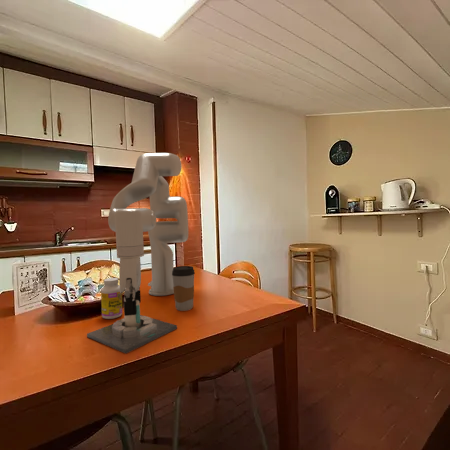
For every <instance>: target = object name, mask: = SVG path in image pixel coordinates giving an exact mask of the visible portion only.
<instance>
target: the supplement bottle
mask: <svg viewBox="0 0 450 450" xmlns="http://www.w3.org/2000/svg"><path fill="white" fill-rule="evenodd" d="M103 284H104V286H103V287H102V288H101V289H100V296H101V297H100V301H101V302H100V303H101V317H102V319H106V320H113V319H116V318H117V319H118V318H119V317H121V316H122V315H123V293H120V288H119V278H118V277H108V278H104V279H103Z"/></svg>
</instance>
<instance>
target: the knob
mask: <svg viewBox="0 0 450 450" xmlns="http://www.w3.org/2000/svg"><path fill="white" fill-rule="evenodd" d="M140 304H141V302H140V303H139V301H138V300H136V310H137V313H136V315H128V316H125V315H124V314H123V315H124V316H123V318H125V327H135V326H138V329H139V328H141V320H140V315H141V308H140Z"/></svg>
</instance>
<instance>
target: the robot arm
mask: <svg viewBox="0 0 450 450" xmlns="http://www.w3.org/2000/svg"><path fill="white" fill-rule="evenodd" d="M133 171H134V172H133V174H132V179H131V183H129V184H127V185H126V186H125V187H123V188H122V189H121V190H120V191H119V192H118V193H117V194H116V195H115V196H114V197H113V198H112V202H111V205H110V208H109V212H108V217H107V219H108V220H107V221H108V223H107V224H108V226H109V229H110V230H111V231H112V232H115V242H116V243H115V244H116V258H117V259H119V267H118V268H119V272H118V273H119V274H118V276H119V278H118V281H119V282H118V285H119V288H120V293H122V294H123V293H124V296H123V312H124V313H123V315H125V316H128V315H136V313H137V310H136V300H138V301H139V303H140V304H141V301H142V299H141V297H142V296H141V288H140V287H141V284H142V283H141V282H142V271H141V270H142V269H141V268H142V267H141V266H142V265H141V257H144V256H145V246H144V233H146V232H147V234H148V239H149V245H150V255H151V256H150V257H151V281H150V282H148V284H147V286H148V287H150V289H148V294H149V295H151V296H154V297H155V296H156V297H157V296H158V297H162V296H163V297H165V296H170V295H174V288H173V276H172V271H173V268H174V253H173V249H172V248H171V246H170V245H169V244H170V243H171V244H173V243H176V244H177V243H185V242H186V241H188V240H189V217H188V204H187V201H186V199H185V198H184V197H183V196H179V195H178V196H170V185H169V183H168V181H167V180H166V179H165V178H164V177H178V176H179V175H180V173H181V171H182V162H181V158H180V156H178V155H177V154H174V153H171V152H152V153H151V152H147V153H142V154H140V155H139V156H138V158H137V160H136V163H135V166H134V170H133ZM147 198H149V206H150V207H149V208H148V207H147V208H146V207H141V208H140V207H138V208H137V207H136V208H134V207H133V208H132V207H129V206H130V205H132V204H135V203H137V202H139V201H142V200H145V199H147ZM128 207H129V208H128ZM157 219H175V220H173V221H172V220H169V221H168V220H166V221H164V220H163V221H161V220H160V221H157Z"/></svg>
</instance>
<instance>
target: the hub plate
mask: <svg viewBox="0 0 450 450" xmlns="http://www.w3.org/2000/svg"><path fill="white" fill-rule="evenodd" d="M140 320H141V328H139V329H138V326H135V327H125V317H123V318H120V319H118V320H116V321H115V322H113V324H112V323H111V324H110V325H107V326H106V325H105V326H104V327H102V328H99V329H97V330H94V331H90V332H88V333H86V337H87V338H88V339H91V340H93V341H96V342H98V343H100V344H102V345H105V346H106V347H109V348H112V349H115V350H116V351H119V352H121V353H124V354H128V353H130V352H132V351H134V350H136V349H138V348H139V349H140V347H143V346H145V345H147V344H149V343H150V342H152V341H154V340H157V339H159V338H161V337H164V336H165V335H167V334H169V333H171V332H173V331H175V330H177V329H178V325H176V324H174V323H170V322H167V321H162V320H160V319H156V318H153V317H149V316H146V315H142V314H140Z"/></svg>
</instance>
